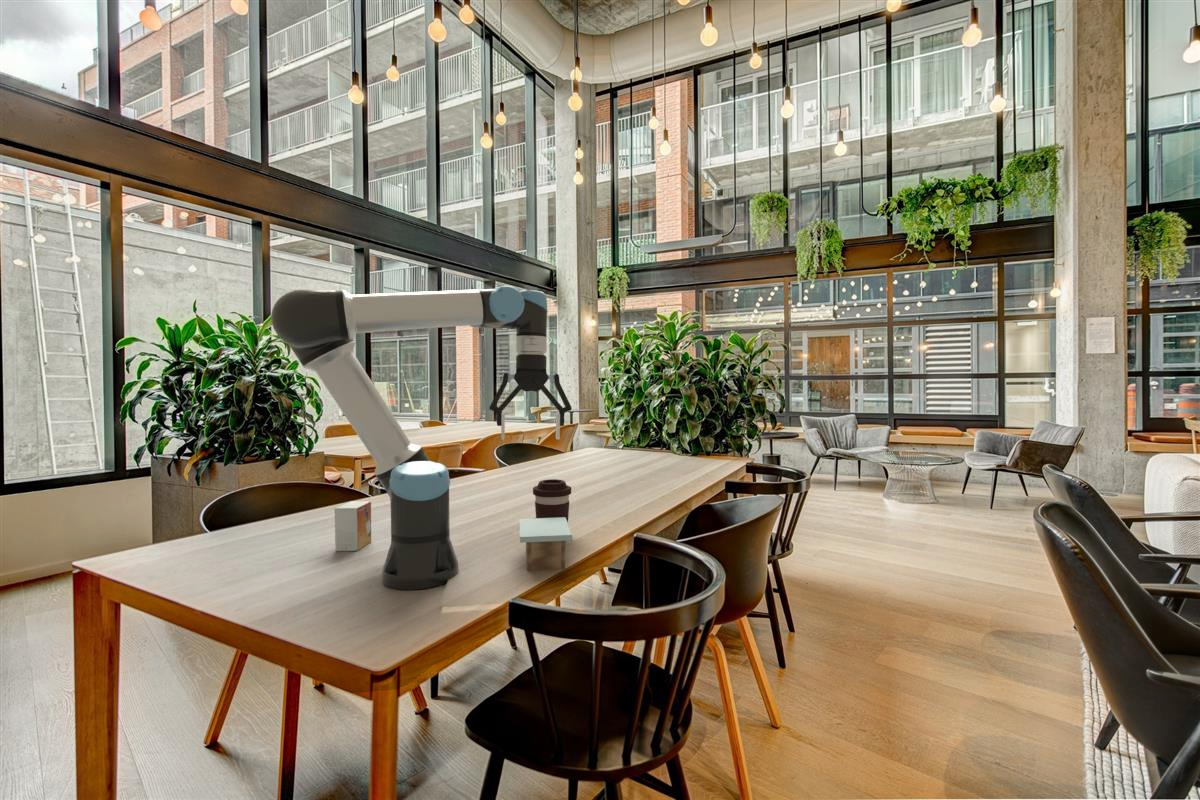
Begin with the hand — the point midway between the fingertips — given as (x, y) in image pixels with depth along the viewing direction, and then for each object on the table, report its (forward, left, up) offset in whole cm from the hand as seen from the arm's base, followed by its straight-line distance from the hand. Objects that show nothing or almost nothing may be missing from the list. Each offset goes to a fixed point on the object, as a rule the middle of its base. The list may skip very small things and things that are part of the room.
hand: (530, 439), depth 136 cm
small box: (-43, +5, -27) cm, 51 cm away
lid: (+3, -14, -19) cm, 24 cm away
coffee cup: (+6, +4, -27) cm, 27 cm away
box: (+3, -14, -26) cm, 30 cm away
